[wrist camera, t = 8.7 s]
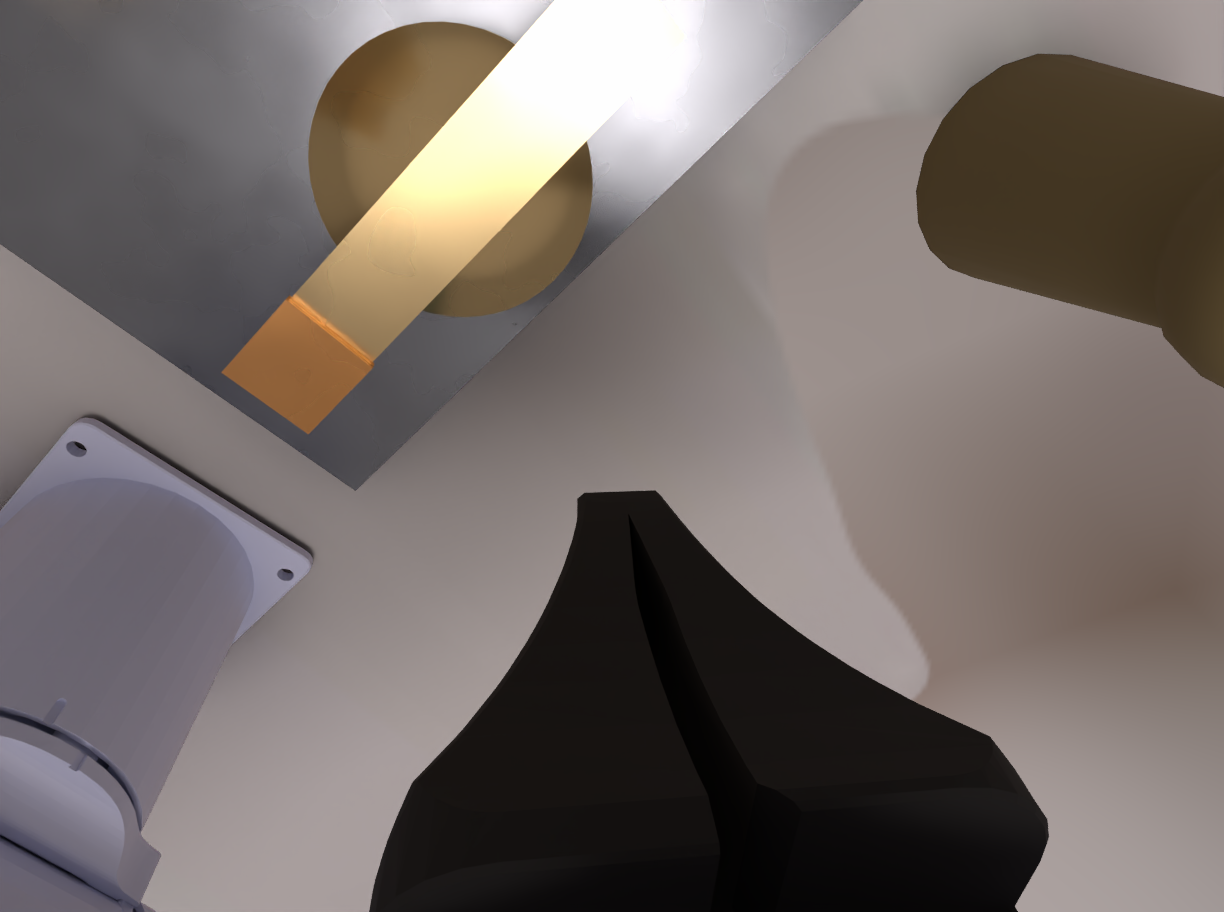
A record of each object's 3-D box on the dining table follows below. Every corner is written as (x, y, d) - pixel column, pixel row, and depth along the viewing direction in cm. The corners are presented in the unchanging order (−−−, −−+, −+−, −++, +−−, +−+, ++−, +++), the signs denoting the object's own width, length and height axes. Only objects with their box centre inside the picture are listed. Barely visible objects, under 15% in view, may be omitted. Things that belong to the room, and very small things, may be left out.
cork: (926, 70, 19) (1336, 103, 9) (1148, 36, 19) (1773, 35, 9) (907, 292, 22) (1200, 486, 12) (1098, 262, 22) (1530, 429, 13)
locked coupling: (701, 114, 17) (765, 140, 12) (421, 391, 19) (391, 493, 15) (514, -131, 14) (510, -207, 10) (221, 229, 17) (114, 296, 12)
